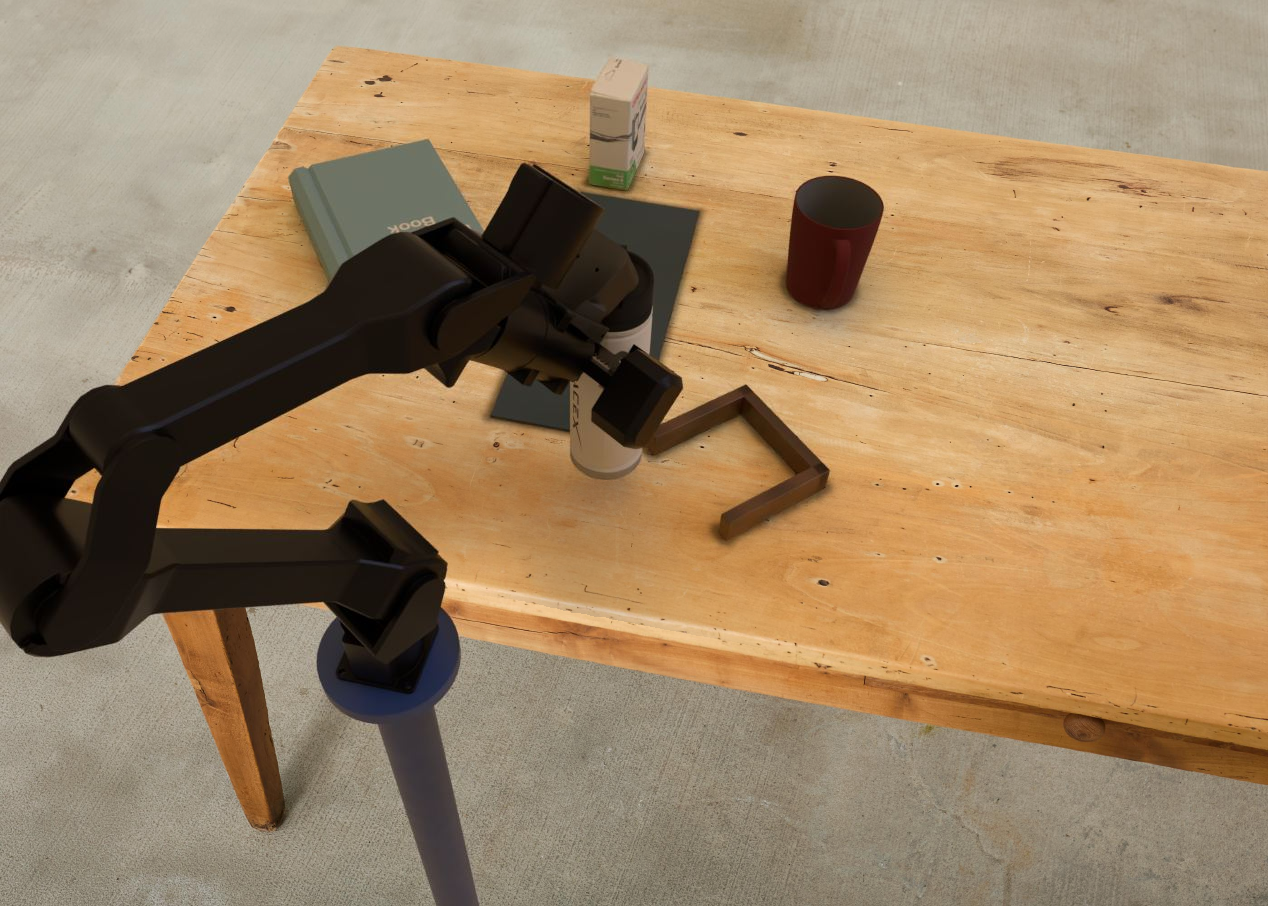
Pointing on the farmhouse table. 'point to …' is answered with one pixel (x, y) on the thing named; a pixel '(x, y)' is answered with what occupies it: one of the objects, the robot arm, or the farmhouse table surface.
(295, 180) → the book
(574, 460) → the travel mug
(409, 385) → the farmhouse table surface
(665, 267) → the desk mat
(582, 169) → the farmhouse table surface
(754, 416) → the u-shaped bracket
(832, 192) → the mug
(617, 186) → the ink box
